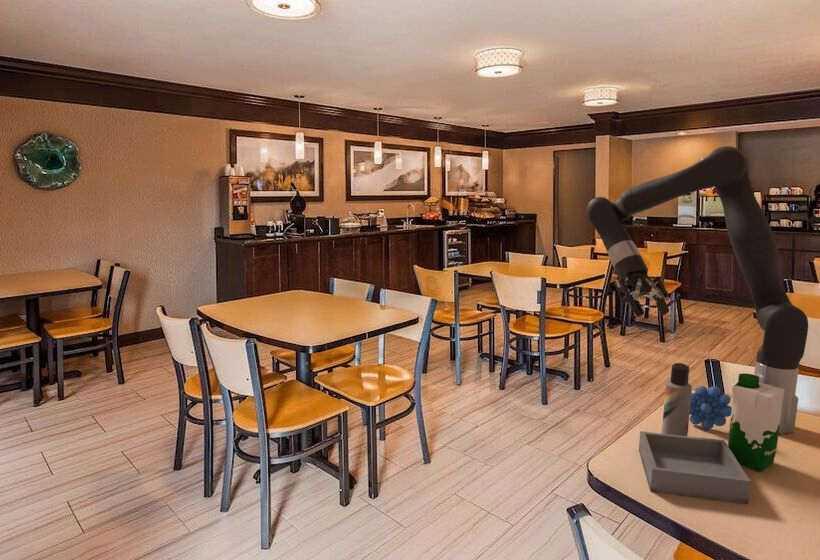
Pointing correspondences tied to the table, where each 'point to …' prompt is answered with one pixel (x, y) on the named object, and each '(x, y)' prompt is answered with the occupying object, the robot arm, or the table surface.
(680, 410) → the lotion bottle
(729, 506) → the table surface
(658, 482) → the bin
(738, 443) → the milk carton
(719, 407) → the grapes
